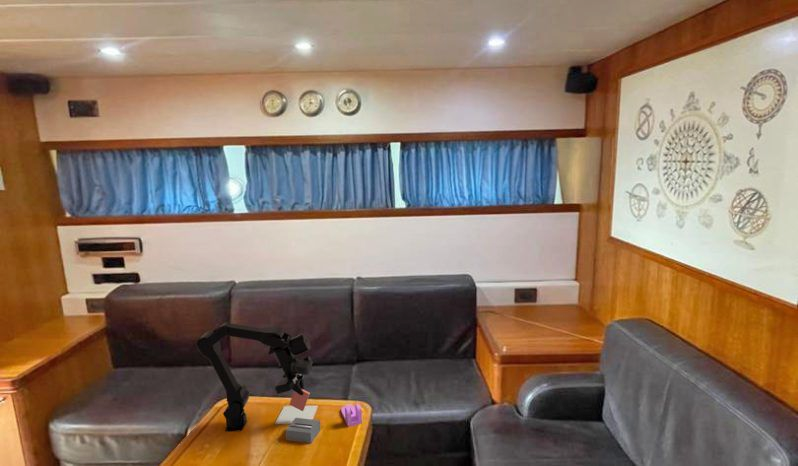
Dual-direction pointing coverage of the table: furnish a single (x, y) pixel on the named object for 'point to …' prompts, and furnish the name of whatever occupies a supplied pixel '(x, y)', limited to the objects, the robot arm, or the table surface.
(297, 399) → the pink rectangular prism
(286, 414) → the mat
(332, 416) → the table surface
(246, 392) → the robot arm
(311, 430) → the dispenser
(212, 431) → the table surface
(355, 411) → the bracket
